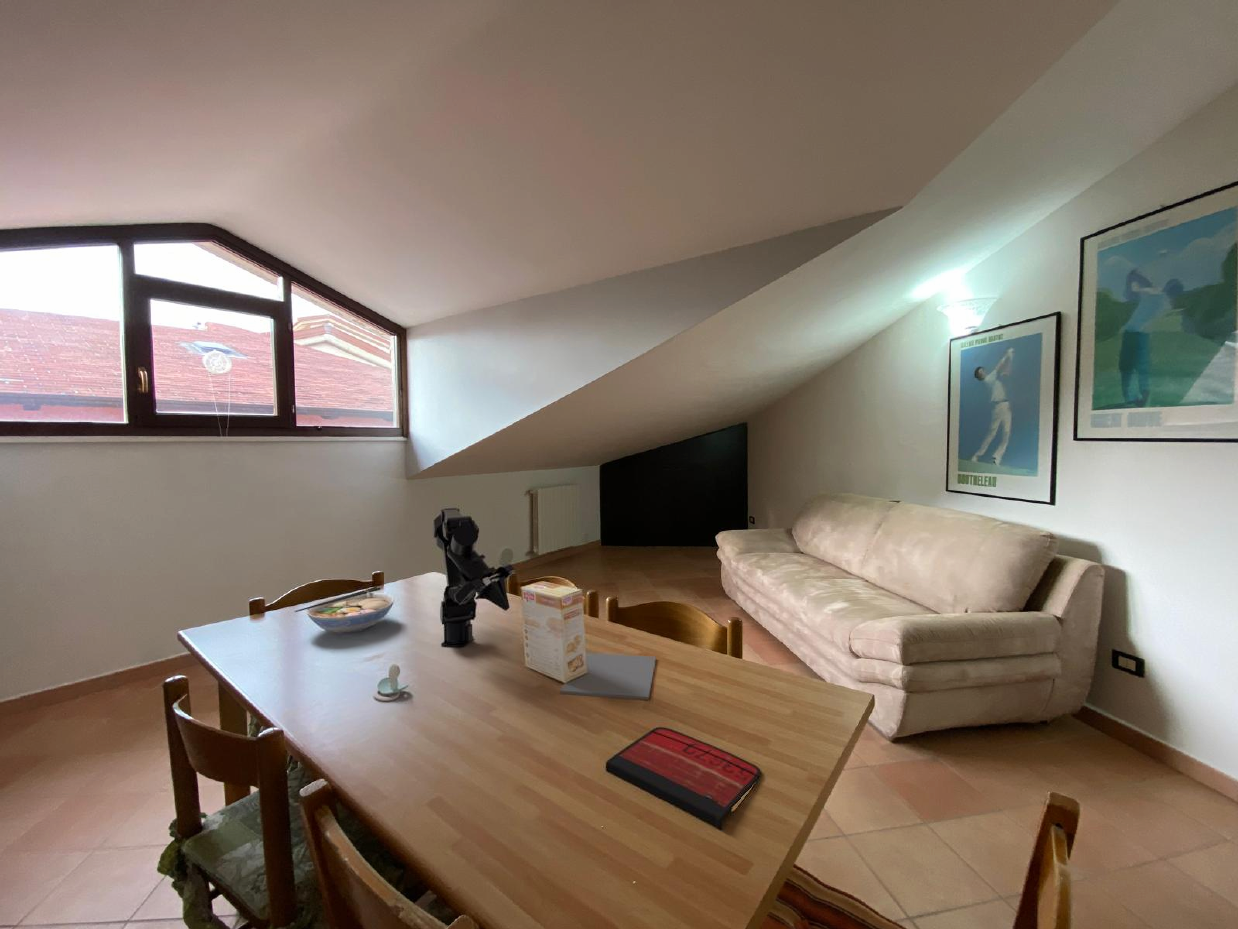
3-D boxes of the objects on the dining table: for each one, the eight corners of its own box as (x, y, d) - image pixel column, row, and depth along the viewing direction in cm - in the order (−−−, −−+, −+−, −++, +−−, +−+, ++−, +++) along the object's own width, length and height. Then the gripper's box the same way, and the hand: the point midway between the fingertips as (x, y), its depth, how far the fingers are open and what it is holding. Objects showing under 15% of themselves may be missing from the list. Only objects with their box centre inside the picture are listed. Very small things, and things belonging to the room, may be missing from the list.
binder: (721, 818, 70) (604, 760, 83) (721, 834, 70) (604, 774, 83) (765, 764, 83) (658, 721, 95) (765, 778, 83) (658, 734, 95)
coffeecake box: (588, 672, 116) (583, 589, 116) (564, 684, 111) (559, 597, 111) (547, 656, 127) (542, 579, 126) (524, 666, 121) (519, 586, 121)
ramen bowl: (330, 652, 130) (329, 621, 130) (286, 635, 142) (285, 606, 142) (415, 623, 151) (414, 596, 151) (370, 610, 163) (369, 585, 163)
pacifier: (387, 706, 104) (412, 693, 109) (385, 677, 103) (411, 665, 108) (366, 697, 108) (392, 684, 113) (365, 668, 107) (390, 657, 112)
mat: (560, 693, 108) (560, 690, 108) (581, 654, 128) (581, 652, 128) (648, 699, 106) (648, 697, 106) (655, 659, 125) (655, 657, 125)
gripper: (471, 572, 136) (507, 617, 133) (424, 591, 119) (464, 643, 116) (496, 545, 133) (534, 590, 130) (451, 561, 116) (494, 613, 113)
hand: (507, 609), depth 122 cm, fingers closed
